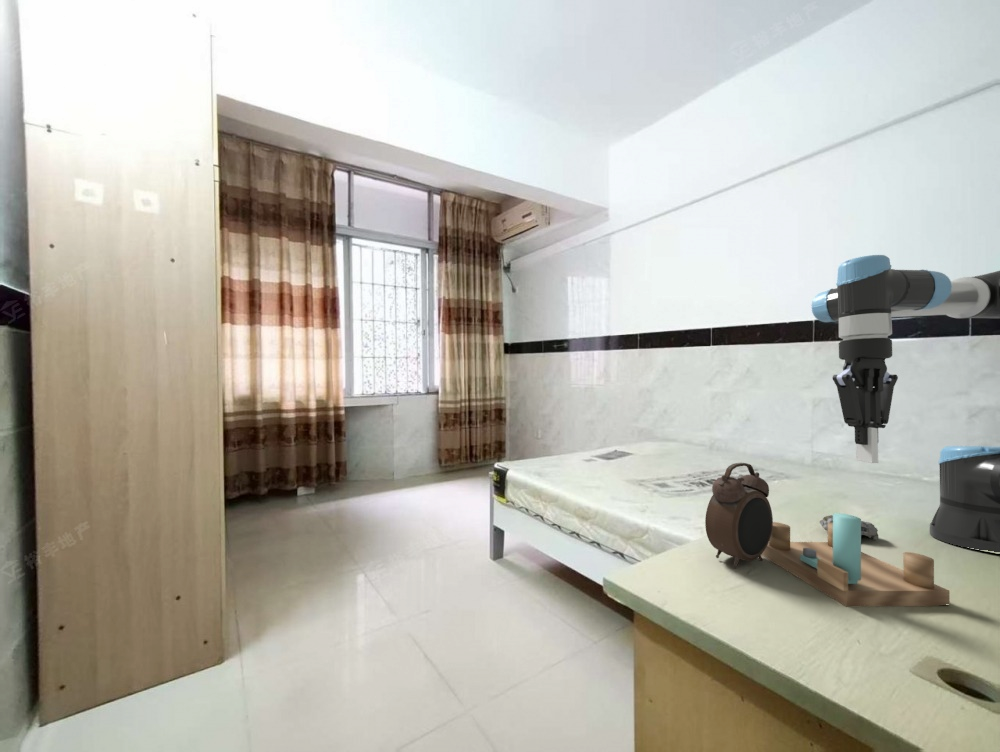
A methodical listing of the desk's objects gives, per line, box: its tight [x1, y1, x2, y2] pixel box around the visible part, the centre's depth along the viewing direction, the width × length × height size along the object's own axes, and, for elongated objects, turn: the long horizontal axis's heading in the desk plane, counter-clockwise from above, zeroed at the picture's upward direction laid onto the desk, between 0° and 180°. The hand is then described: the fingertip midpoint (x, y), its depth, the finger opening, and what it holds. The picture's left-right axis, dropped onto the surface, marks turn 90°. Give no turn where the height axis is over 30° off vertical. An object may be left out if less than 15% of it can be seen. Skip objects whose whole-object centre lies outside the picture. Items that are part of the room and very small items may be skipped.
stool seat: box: [761, 521, 951, 608], centre depth 75 cm, size 18×20×7 cm
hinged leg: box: [800, 512, 862, 584], centre depth 70 cm, size 4×10×11 cm, turn 3°
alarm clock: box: [704, 462, 774, 569], centre depth 80 cm, size 14×7×20 cm, turn 117°
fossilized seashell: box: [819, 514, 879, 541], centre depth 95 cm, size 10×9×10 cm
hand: (867, 461), depth 75 cm, fingers closed
